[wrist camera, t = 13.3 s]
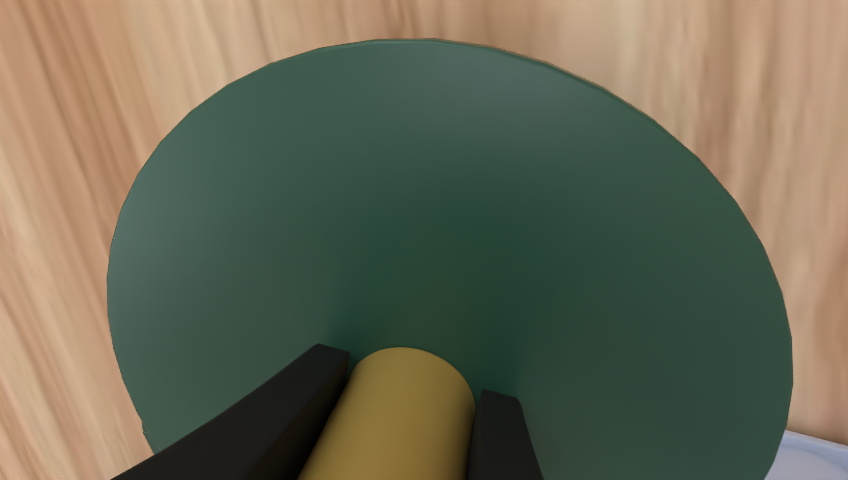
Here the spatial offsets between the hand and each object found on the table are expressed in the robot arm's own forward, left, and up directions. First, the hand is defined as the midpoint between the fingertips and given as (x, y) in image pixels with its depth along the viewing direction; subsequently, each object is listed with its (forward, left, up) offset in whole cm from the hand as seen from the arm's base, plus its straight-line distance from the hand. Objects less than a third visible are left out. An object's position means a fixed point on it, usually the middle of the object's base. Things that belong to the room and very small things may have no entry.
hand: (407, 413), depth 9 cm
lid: (0, 0, -1) cm, 1 cm away
